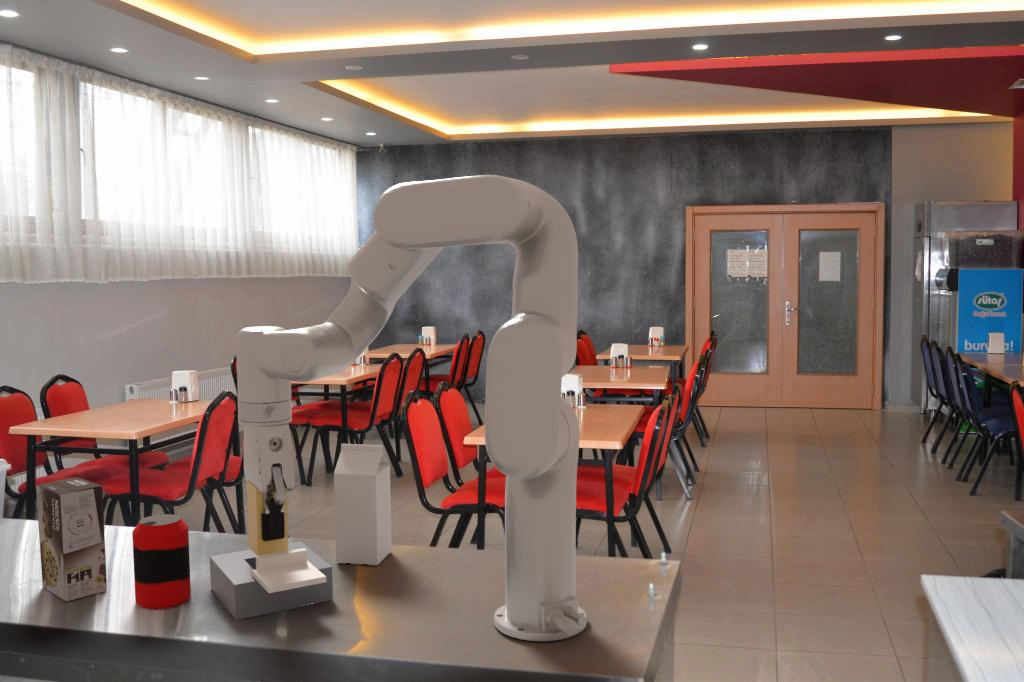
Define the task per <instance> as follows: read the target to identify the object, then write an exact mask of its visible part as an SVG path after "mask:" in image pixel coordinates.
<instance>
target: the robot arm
mask: <svg viewBox="0 0 1024 682" xmlns="http://www.w3.org/2000/svg"><path fill="white" fill-rule="evenodd" d="M372 218H373V226H374V228H375V229H374V232H373V233H372V234H371V235H370V236H369V237H368V238H367V240H366V241H365V242H364V243H363V244H362V245H361V246H360V248H359V249H358V250H357V251H356V252H355V254H353V256H352V257H351V258H350V259H349V262H348V265H347V271H348V274H349V277H350V279H351V281H350V282H351V284H350V287H349V290H348V291H347V293H346V295H345V297H344V298H343V300H342V301H341V303H339V305H338V306H337V307H336V309H335V310H334V311H333V312H332V313H331V314H330V315H329V317H328V318H327V319H326V320H325V321H324V322H323V323H321V324H317V325H312V326H306V327H299V328H294V329H288V330H287V329H286V328H284V327H283V326H282V327H281V326H274V325H262V326H261V325H259V326H255V325H254V326H249V327H248V326H247V327H244V328H241V329H240V330H239V331H237V332H238V333H237V335H236V341H235V345H236V346H235V348H236V379H237V381H236V383H237V417H238V418H237V419H238V421H237V422H238V424H239V425H240V426H243V472H244V473H243V474H244V478H245V481H246V482H247V481H249V482H250V483H252V484H253V485H254V486H256V487H257V490H258V491H259V492H260V493H262V500H263V511H264V513H262V514H261V525H262V540H263V541H271V540H277V539H283V538H284V537H285V525H284V510H285V508H284V502H285V499H286V493H285V489H284V487H286V489H287V492H288V491H289V492H290V491H291V492H292V491H293V490H294V488H295V471H294V457H293V456H294V455H293V453H294V452H293V445H292V436H291V435H292V434H291V430H290V425H289V423H291V422H293V417H292V416H293V415H292V414H293V413H292V411H293V409H292V407H293V406H292V382H294V383H295V382H296V383H308V382H313V381H316V380H320V379H322V378H324V377H328V376H333V375H336V374H338V373H339V374H340V373H341V372H343V371H344V370H346V369H347V368H349V367H350V366H351V365H353V364H354V363H356V361H357V359H359V357H360V356H361V355H362V354H363V353H364V352H365V351H366V350H367V349H368V347H369V346H370V345H371V344H372V343H373V342H374V341H375V339H376V338H377V337H378V335H380V334H381V331H382V330H383V329H384V327H385V325H386V324H387V322H388V320H389V318H390V316H392V313H393V312H394V310H395V306H396V305H397V303H398V301H399V299H400V298H401V297H402V296H403V295H404V294H405V292H406V291H407V290H408V289H409V288H410V287H411V285H412V284H413V283H414V282H415V281H416V280H417V279H418V277H420V276H421V274H422V273H423V271H424V270H425V269H426V268H428V266H429V265H430V264H431V263H432V262H433V261H434V259H435V258H436V257H437V256H438V255H439V254H440V252H441V251H443V249H444V248H450V247H451V248H452V247H462V246H464V247H465V246H474V245H475V246H478V245H499V244H500V245H504V244H505V245H507V244H509V245H511V246H512V247H513V248H514V249H513V250H514V252H515V258H516V259H515V264H514V271H513V277H512V306H511V318H510V319H509V320H508V321H507V322H505V323H503V324H502V325H501V326H500V327H499V328H498V329H497V331H496V332H495V333H494V335H493V337H492V340H491V342H490V344H489V347H488V352H487V358H486V370H485V371H486V372H485V401H484V402H485V403H484V404H485V405H484V443H485V448H486V452H487V455H488V457H489V460H490V461H491V463H492V464H493V466H494V467H495V468H496V469H497V470H498V471H499V472H500V473H501V474H503V475H504V476H506V477H505V487H504V489H505V491H504V492H505V493H504V565H505V566H504V571H505V572H504V575H505V576H504V581H505V582H504V583H505V584H504V585H505V587H504V588H505V589H504V590H505V593H504V595H505V598H504V599H505V604H503V605H502V606H500V607H498V608H497V609H496V610H495V613H494V614H493V623H494V627H495V628H496V629H497V630H498V631H499V632H500V633H502V634H504V635H506V636H508V637H511V638H514V639H518V640H523V641H529V642H551V641H553V642H554V641H560V640H564V639H569V638H573V637H574V636H576V635H579V634H580V633H581V632H583V631H584V630H585V629H586V627H587V624H588V619H587V618H588V615H587V613H586V612H585V610H584V609H583V608H581V606H579V598H578V597H576V578H577V577H576V572H577V571H576V564H577V563H576V562H577V561H576V559H577V556H576V555H577V554H576V547H577V546H576V543H577V542H576V539H577V538H576V537H577V535H576V532H577V530H576V529H577V525H576V524H577V523H576V520H577V519H576V518H577V517H576V513H577V476H578V462H579V449H580V424H579V419H578V416H577V414H576V412H575V409H574V407H572V405H571V403H569V401H567V399H565V398H564V397H562V384H563V383H562V382H563V381H562V380H563V379H562V378H564V377H565V376H566V375H567V374H568V373H569V372H570V370H572V368H573V367H574V366H573V365H574V364H575V361H576V360H577V359H576V357H577V352H578V351H577V350H578V348H577V346H578V343H577V342H578V341H577V339H578V338H577V336H578V333H577V332H578V331H577V328H578V327H577V326H578V325H577V324H578V297H579V295H578V274H579V272H578V271H579V270H578V269H579V249H578V248H579V246H578V245H579V244H578V239H577V234H576V229H575V226H574V224H573V221H572V219H571V217H570V215H569V213H568V211H566V210H565V207H563V205H562V204H561V203H560V202H559V200H557V199H556V198H554V196H552V195H551V194H549V193H548V192H547V191H545V190H543V188H542V189H541V188H540V187H538V186H536V185H534V184H531V183H529V182H527V181H524V180H521V179H518V178H514V177H506V176H503V175H497V174H479V175H478V174H477V175H470V176H459V177H450V178H441V179H433V180H421V181H408V182H407V181H406V182H401V183H397V184H395V185H393V186H391V187H389V188H388V189H387V190H385V191H384V192H383V193H382V194H381V195H380V197H379V198H378V200H377V202H376V204H375V207H374V210H373V216H372ZM283 482H284V483H285V485H284V484H283ZM270 487H273V490H274V491H270V492H267V491H268V489H267V488H270ZM273 495H274V496H273ZM268 496H273V498H271V499H270V501H268Z"/></svg>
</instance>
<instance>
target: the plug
mask: <svg viewBox="0 0 1024 682" xmlns="http://www.w3.org/2000/svg"><path fill="white" fill-rule="evenodd" d="M283 484H284V485H285V483H284V482H283ZM267 489H268V491H267V492H270V491H274V490H273V487H270V488H267ZM284 489H285V493H286V499H285V502H284V508H285V510H284V525H285V537H284V538H283V539H277V540H271V541H263V540H262V525H261V514H262V513H264V511H263V500H262V493H260V492H259V491H258V490H257V487H256V486H254V485H253V484H252V483H250V482H249V481H246V490H247V491H246V492H247V493H246V495H247V529H248V530H247V531H248V532H247V533H248V537H247V538H248V548H249V550H252V551H253V552H254V553H255V554H256V555H257V556H260V555H266V554H271V553H277V552H283V551H288V543H289V537H288V536H289V534H288V533H289V532H288V524H289V523H288V490H287V489H286V487H284ZM273 496H274V495H273ZM273 496H268V501H270V499H271V498H273Z"/></svg>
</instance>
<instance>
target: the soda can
mask: <svg viewBox="0 0 1024 682" xmlns="http://www.w3.org/2000/svg"><path fill="white" fill-rule="evenodd" d="M131 533H132V534H131V535H132V553H133V555H132V556H133V557H132V558H133V573H134V574H133V577H134V597H135V598H134V599H135V603H136V605H137V606H139V607H140V608H142V609H144V610H164V609H171V608H175V607H179V606H181V605H182V604H184V603H185V602H187V601H189V599H190V597H191V595H192V593H191V592H192V587H191V564H190V563H191V562H190V541H189V538H190V535H189V525H188V524H187V523H186V521H184V519H182V517H181V516H180V515H178V514H171V513H169V514H166V513H165V514H154V515H150V516H146V517H144V518H141V519H140V520H139V521H138V523H137V524H136V526H135V528H134V529H132V532H131Z"/></svg>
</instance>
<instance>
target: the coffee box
mask: <svg viewBox="0 0 1024 682" xmlns="http://www.w3.org/2000/svg"><path fill="white" fill-rule="evenodd" d="M35 487H36V488H35V490H36V504H37V521H38V524H37V525H38V537H39V538H38V539H39V550H40V551H39V552H40V566H41V567H40V568H41V579H42V580H41V582H42V588H43V589H44V590H46V591H48V592H50V593H51V594H53V595H54V596H57V597H58V598H59V599H60V600H63V601H65V602H70V601H73V600H78V599H82V598H85V597H88V596H93V595H97V594H101V593H105V592H107V590H108V584H107V582H108V580H107V559H106V556H107V555H106V542H105V540H106V539H105V536H106V535H105V517H104V497H103V494H104V493H103V488H104V487H103V485H101V484H98V483H96V482H93V481H89V480H87V479H84V478H81V477H79V476H75V477H74V476H73V477H68V478H64V479H58V480H54V481H50V482H46V483H40V484H36V485H35Z"/></svg>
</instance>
